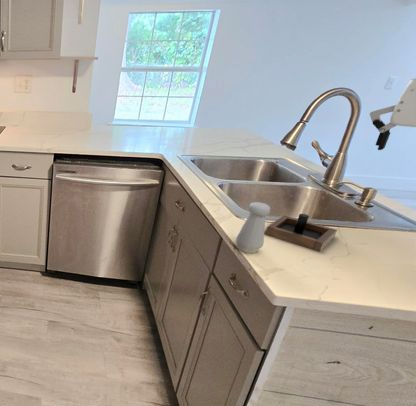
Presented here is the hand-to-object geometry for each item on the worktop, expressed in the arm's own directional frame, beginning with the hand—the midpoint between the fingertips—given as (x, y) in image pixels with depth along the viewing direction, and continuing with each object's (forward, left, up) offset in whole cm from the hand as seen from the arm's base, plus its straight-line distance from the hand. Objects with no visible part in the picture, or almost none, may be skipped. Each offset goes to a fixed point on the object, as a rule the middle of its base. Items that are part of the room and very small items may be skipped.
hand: (411, 152), depth 82 cm
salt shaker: (+18, +21, -27) cm, 39 cm away
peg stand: (+13, +2, -26) cm, 30 cm away
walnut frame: (+13, +2, -26) cm, 29 cm away
